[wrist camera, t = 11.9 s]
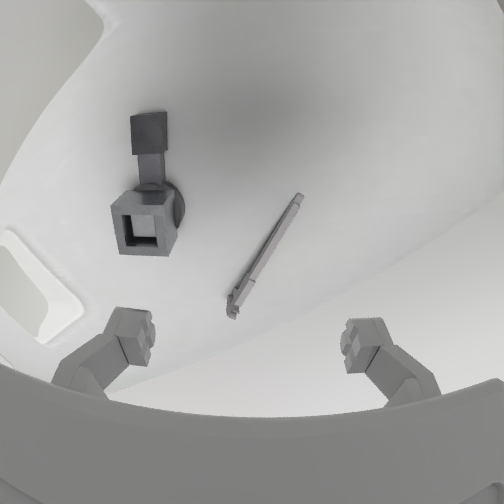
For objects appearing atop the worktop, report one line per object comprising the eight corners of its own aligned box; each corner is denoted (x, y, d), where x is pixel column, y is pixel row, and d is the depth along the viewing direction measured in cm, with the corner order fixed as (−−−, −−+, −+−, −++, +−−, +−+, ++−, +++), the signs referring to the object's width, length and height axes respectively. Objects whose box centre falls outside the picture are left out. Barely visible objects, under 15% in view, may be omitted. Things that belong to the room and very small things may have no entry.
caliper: (233, 298, 47) (231, 325, 42) (227, 296, 47) (224, 323, 41) (303, 195, 38) (312, 214, 32) (297, 191, 37) (305, 209, 32)
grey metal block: (126, 190, 34) (110, 205, 30) (173, 189, 34) (163, 205, 30) (132, 235, 38) (119, 254, 33) (177, 236, 38) (168, 256, 34)
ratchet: (186, 232, 40) (177, 254, 35) (134, 231, 40) (120, 252, 35) (182, 111, 31) (169, 114, 26) (123, 115, 31) (102, 121, 26)
